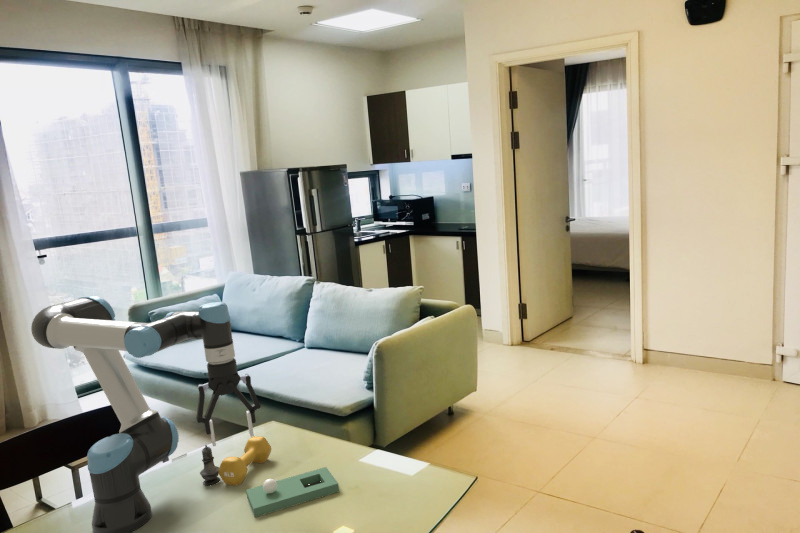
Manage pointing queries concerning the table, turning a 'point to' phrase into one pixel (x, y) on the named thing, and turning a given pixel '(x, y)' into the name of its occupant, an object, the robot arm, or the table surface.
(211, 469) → the dark grey chess piece
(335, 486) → the green
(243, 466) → the dumbbell
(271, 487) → the ball
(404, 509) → the table surface
